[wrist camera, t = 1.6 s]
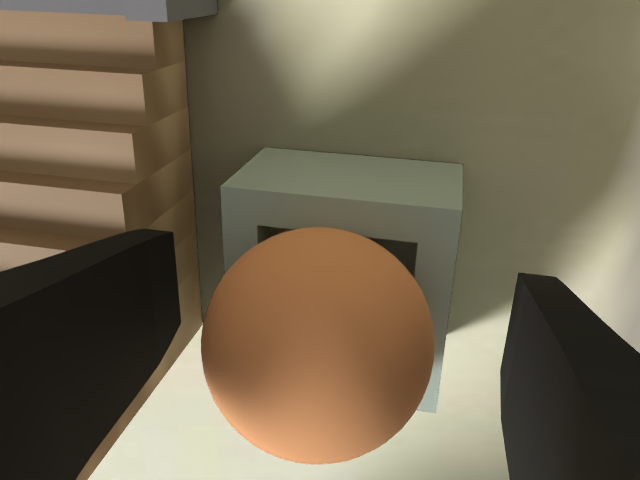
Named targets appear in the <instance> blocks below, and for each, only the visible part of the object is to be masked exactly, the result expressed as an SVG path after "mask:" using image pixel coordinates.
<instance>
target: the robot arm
mask: <svg viewBox="0 0 640 480" xmlns="http://www.w3.org/2000/svg"><path fill="white" fill-rule="evenodd" d="M180 324H181V313H180V302H179V291H178V279H177V268H176V256H175V245H174V234H173V232H170V231H161V230H153V229H138V230H133V231H128V232H125V233H121V234H117V235H114V236H111V237H108V238H104V239H101V240H98V241H95V242H92V243H89V244H86V245H83V246H80V247H77V248H74V249H71V250H68V251H65V252H62V253H59V254H56V255H53V256H50V257H47V258H44V259H41V260H37V261H34V262H31V263H27V264H24V265H21V266H18V267H14V268H11V269H8V270H4V271H1V272H0V480H76V479H77V477H78V475H79V474H80V472H81V471H82V469H83V468H84V466H85V465H86V464H87V462H88V461H89V459H90V458H91V456H92V455H93V453H94V452H95V451H96V449H97V448H98V447H99V445H100V444H101V443H102V441H103V440H104V439H105V437H106V436H107V435H108V433H109V432H110V431H111V429H112V428H113V427H114V425H115V424H116V423H117V421H118V420H119V419H120V417H121V416H122V415H123V413H124V412H125V411H126V409H127V408H128V407H129V405H130V404H131V403H132V401H133V400H134V399H135V397H136V396H137V395H138V393H139V392H140V390H141V389H142V388H143V386H144V385H145V384H146V382H147V381H148V379H149V378H150V377H151V375H152V374H153V373H154V371H155V370H156V368H157V367H158V366H159V364H160V362H161V361H162V359H163V357H164V355H165V353H166V352H167V350H168V348H169V346H170V344H171V342H172V340H173V338H174V336H175V334H176V332H177V330H178V328H179V326H180ZM500 375H501V422H502V430H503V437H504V443H505V450H506V457H507V464H508V471H509V477H510V480H640V353H639V352H637V351H636V350H635V349H634V348H633V347H631V346H630V345H629V344H628V343H627V342H626V341H625V340H623V339H622V338H621V337H620V336H619V335H618V334H617V333H615V332H614V331H613V330H612V329H611V328H610V327H609V326H608V325H607V324H606V323H605V322H603V321H602V320H601V319H600V318H599V317H598V316H597V315H596V314H595V313H594V312H593V311H592V310H591V309H590V308H589V307H588V306H587V305H586V304H585V303H583V302H582V301H581V300H580V299H579V298H578V297H577V296H576V295H575V294H574V293H573V292H572V291H571V290H570V289H569V288H568V287H567V286H566V285H565V284H564V283H563V282H561V281H560V280H559V279H558V278H557V277H552V276H543V275H535V274H526V273H518V278H517V283H516V289H515V294H514V300H513V305H512V310H511V316H510V321H509V327H508V332H507V337H506V343H505V348H504V354H503V359H502V364H501V370H500Z"/></svg>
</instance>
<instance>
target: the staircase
mask: <svg viewBox="0 0 640 480" xmlns="http://www.w3.org/2000/svg"><path fill="white" fill-rule="evenodd" d="M138 229H153V230H161V231H170V232H173V234H174V245H175V256H176V268H177V279H178V291H179V302H180V313H181V324H180V326H179V328H178V330H177V332H176V334H175V336H174V338H173V340H172V342H171V344H170V346H169V348H168V350H167V352H166V353H165V355H164V357H163V359H162V361H161V362H160V364H159V366H158V367H157V368H156V370H155V371H154V373H153V374H152V375H151V377H150V378H149V379H148V381H147V382H146V384H145V385H144V386H143V388H142V389H141V390H140V392H139V393H138V395H137V396H136V397H135V399H134V400H133V401H132V403H131V404H130V405H129V407H128V408H127V409H126V411H125V412H124V413H123V415H122V416H121V417H120V419H119V420H118V421H117V423H116V424H115V425H114V427H113V428H112V429H111V431H110V432H109V433H108V435H107V436H106V437H105V439H104V440H103V441H102V443H101V444H100V445H99V447H98V448H97V449H96V451H95V452H94V453H93V455H92V456H91V458H90V459H89V461H88V462H87V464H86V465H85V466H84V468H83V469H82V471H81V472H80V474H79V475H78V477H77V479H76V480H87V479H88V478H89V477H90V475H91V474H92V473H93V471H94V470H95V469H96V467H97V466H98V465H99V463H100V462H101V461H102V459H103V458H104V457H105V455H106V454H107V452H108V451H109V450H110V448H111V447H112V446H113V444H114V443H115V442H116V440H117V439H118V438H119V436H120V435H121V434H122V432H123V431H124V430H125V428H126V427H127V426H128V424H129V423H130V421H131V420H132V419H133V417H134V416H135V415H136V413H137V412H138V411H139V409H140V408H141V407H142V405H143V404H144V403H145V401H146V400H147V399H148V397H149V396H150V395H151V393H152V392H153V390H154V389H155V388H156V386H157V385H158V384H159V382H160V381H161V380H162V378H163V377H164V376H165V374H166V373H167V372H168V370H169V369H170V368H171V366H172V365H173V364H174V362H175V361H176V359H177V358H178V357H179V355H180V354H181V353H182V351H183V350H184V349H185V347H186V346H187V345H188V343H189V342H190V341H191V339H192V338H193V337H194V335H195V334H196V333H197V331H198V330H199V328H200V327H201V326H202V312H201V296H200V281H199V266H198V250H197V235H196V219H195V204H194V188H193V173H192V158H191V142H190V127H189V111H188V96H187V81H186V65H185V50H184V34H183V20H178V21H172V22H150V21H128V20H126V19H125V16H124V15H102V14H80V13H57V12H35V11H13V10H0V272H1V271H4V270H8V269H11V268H14V267H18V266H21V265H24V264H27V263H31V262H34V261H37V260H41V259H44V258H47V257H50V256H53V255H56V254H59V253H62V252H65V251H68V250H71V249H74V248H77V247H80V246H83V245H86V244H89V243H92V242H95V241H98V240H101V239H104V238H108V237H111V236H114V235H117V234H121V233H125V232H128V231H133V230H138Z"/></svg>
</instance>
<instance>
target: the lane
mask: <svg viewBox="0 0 640 480" xmlns="http://www.w3.org/2000/svg"><path fill="white" fill-rule="evenodd" d="M0 10H13V11H35V12H57V13H80V14H102V15H124V16H125V19H126V20H128V21H150V22H172V21H178V20H184V19H190V18H196V17H202V16H208V15H214V14H218V13H217V0H0Z"/></svg>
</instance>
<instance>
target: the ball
mask: <svg viewBox="0 0 640 480" xmlns="http://www.w3.org/2000/svg"><path fill="white" fill-rule="evenodd" d="M201 354H202V362H203V370H204V374H205V378H206V381H207V384H208V387H209V390H210V392H211V394H212V397H213V399H214V401H215V403H216V405H217V406H218V408H219V410H220V411H221V413H222V414H223V415H224V417H225V418H226V419H227V421H228V422H229V423H230V424H231V425H232V427H233V428H234V429H235V430H236V431H237V432H238V433H239V434H240V435H242V436H243V437H244V438H245V439H246V440H248V441H249V442H250V443H252V444H253V445H255V446H256V447H258V448H260V449H261V450H263V451H265V452H267V453H269V454H271V455H274V456H276V457H279V458H282V459H285V460H288V461H293V462H297V463H304V464H330V463H338V462H343V461H348V460H351V459H354V458H357V457H360V456H362V455H364V454H366V453H368V452H370V451H372V450H375V449H376V448H378V447H379V446H381V445H383V444H384V443H386V442H387V441H388V440H389V439H390V438H392V437H393V436H394V435H395V434H396V433H397V432H399V431H400V430H401V429H402V428H403V426H404V425H405V424H406V423H407V422H408V420H409V419H410V418H411V417H412V415H413V414H414V413H415V411H416V409H417V408H418V406H419V404H420V403H421V401H422V399H423V396H424V394H425V392H426V389H427V387H428V384H429V381H430V377H431V373H432V368H433V363H434V354H435V337H434V328H433V322H432V318H431V314H430V311H429V307H428V304H427V302H426V299H425V297H424V295H423V292H422V290H421V289H420V287H419V285H418V284H417V282H416V280H415V279H414V277H413V276H412V275H411V273H410V272H409V271H408V270H407V268H406V267H405V266H404V265H403V264H402V263H401V262H400V261H399V260H398V259H397V258H396V257H395V256H394V255H393V254H392V253H390V252H389V251H388V250H386V249H385V248H384V247H382V246H381V245H379V244H377V243H375V242H374V241H372V240H370V239H368V238H366V237H363V236H361V235H359V234H356V233H352V232H349V231H346V230H341V229H335V228H327V227H310V228H301V229H296V230H292V231H287V232H283V233H281V234H278V235H275V236H272V237H270V238H268V239H266V240H265V241H263V242H261V243H259V244H257V245H256V246H254V247H253V248H251V249H250V250H249V251H247V252H246V253H244V254H243V255H242V256H241V257H240V258H239V259H238V260H237V261H236V262H235V263H234V264H233V265H232V266H231V267H230V268H229V269H228V271H227V272H226V273H225V275H224V276H223V278H222V279H221V280H220V282H219V284H218V285H217V287H216V289H215V291H214V293H213V295H212V297H211V299H210V302H209V305H208V308H207V311H206V314H205V317H204V322H203V329H202V337H201Z"/></svg>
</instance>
